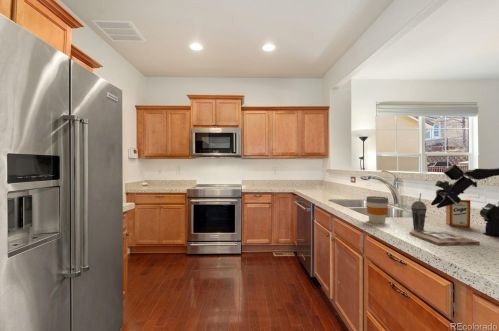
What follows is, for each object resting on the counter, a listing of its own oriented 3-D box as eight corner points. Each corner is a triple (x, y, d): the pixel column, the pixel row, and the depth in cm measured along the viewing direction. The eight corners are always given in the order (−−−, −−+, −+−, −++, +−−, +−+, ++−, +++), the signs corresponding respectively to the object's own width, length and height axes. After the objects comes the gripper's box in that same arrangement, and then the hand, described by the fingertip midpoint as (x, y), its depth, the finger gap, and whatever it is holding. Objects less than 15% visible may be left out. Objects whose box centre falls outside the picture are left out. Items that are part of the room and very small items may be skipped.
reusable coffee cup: (368, 223, 156) (368, 198, 156) (364, 218, 168) (364, 195, 168) (391, 224, 153) (391, 199, 153) (385, 219, 165) (385, 196, 165)
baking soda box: (465, 225, 153) (465, 198, 152) (470, 227, 147) (470, 199, 146) (446, 223, 156) (446, 197, 156) (449, 226, 150) (450, 198, 150)
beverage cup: (407, 228, 144) (408, 192, 144) (416, 227, 147) (417, 192, 146) (420, 231, 137) (420, 194, 137) (429, 230, 140) (430, 193, 140)
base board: (445, 233, 134) (445, 229, 134) (479, 244, 116) (479, 239, 116) (409, 234, 132) (409, 230, 132) (438, 245, 114) (438, 240, 114)
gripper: (440, 174, 146) (417, 193, 150) (453, 176, 129) (427, 197, 132) (457, 189, 143) (433, 207, 147) (472, 192, 126) (445, 213, 130)
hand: (434, 206), depth 139 cm, fingers open, 9 cm apart
